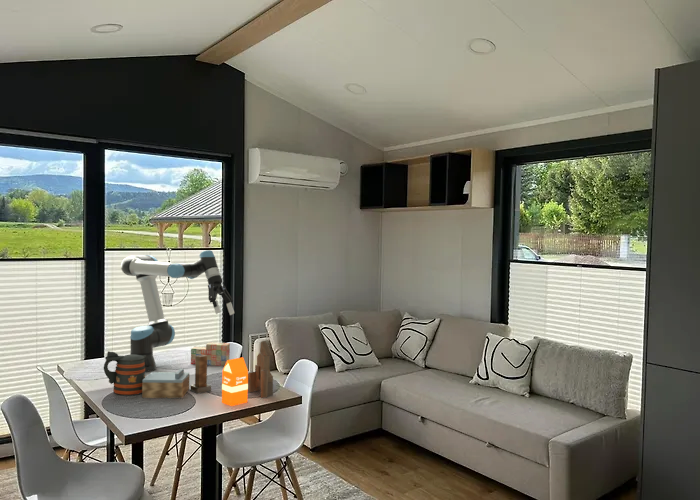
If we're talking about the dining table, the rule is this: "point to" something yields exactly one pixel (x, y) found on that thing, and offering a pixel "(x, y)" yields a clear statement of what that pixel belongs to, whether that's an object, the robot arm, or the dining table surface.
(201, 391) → the socket
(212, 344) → the stack of blocks
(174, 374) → the lid
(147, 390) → the toolbox
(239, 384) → the orange juice
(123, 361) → the beer stein
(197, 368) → the pin
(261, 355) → the wooden toy
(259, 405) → the dining table surface
